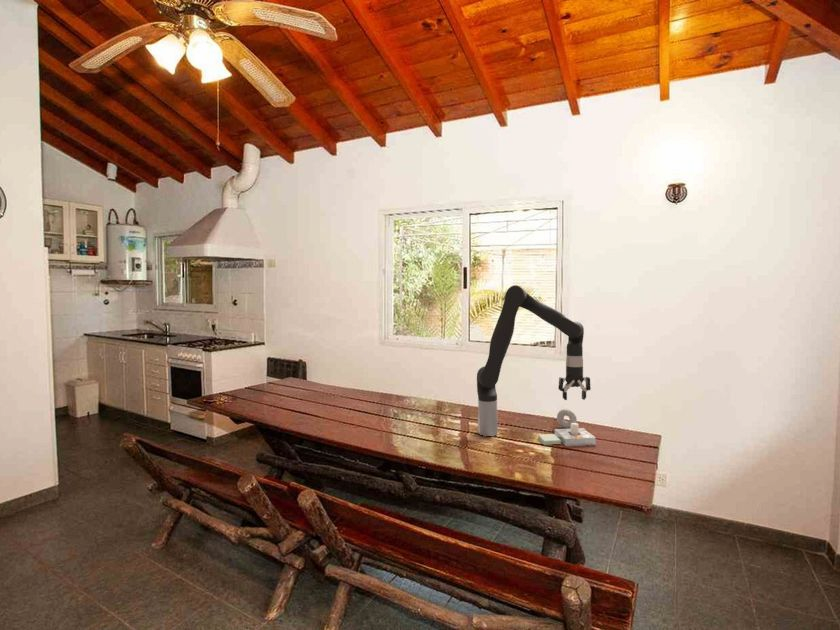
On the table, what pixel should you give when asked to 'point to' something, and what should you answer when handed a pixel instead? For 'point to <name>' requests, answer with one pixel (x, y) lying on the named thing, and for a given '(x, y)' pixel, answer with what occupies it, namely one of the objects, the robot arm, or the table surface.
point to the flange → (575, 437)
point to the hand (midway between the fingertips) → (574, 399)
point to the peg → (574, 428)
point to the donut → (562, 422)
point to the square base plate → (549, 439)
